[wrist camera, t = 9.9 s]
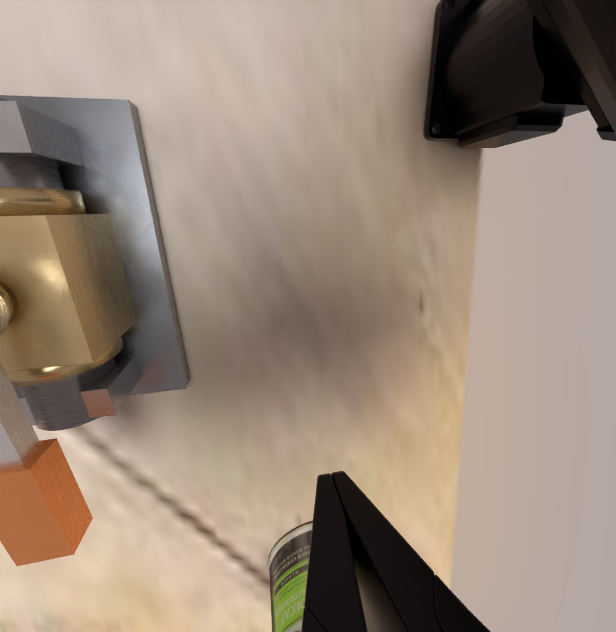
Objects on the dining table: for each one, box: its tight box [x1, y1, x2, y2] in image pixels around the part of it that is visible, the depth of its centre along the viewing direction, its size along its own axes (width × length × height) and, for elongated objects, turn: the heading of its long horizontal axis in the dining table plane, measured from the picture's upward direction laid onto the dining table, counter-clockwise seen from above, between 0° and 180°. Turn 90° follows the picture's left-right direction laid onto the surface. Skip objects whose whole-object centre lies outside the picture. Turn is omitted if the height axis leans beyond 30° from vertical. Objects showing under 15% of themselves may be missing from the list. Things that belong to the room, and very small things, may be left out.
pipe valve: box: [0, 95, 190, 431], centre depth 13 cm, size 16×10×7 cm, turn 1°
